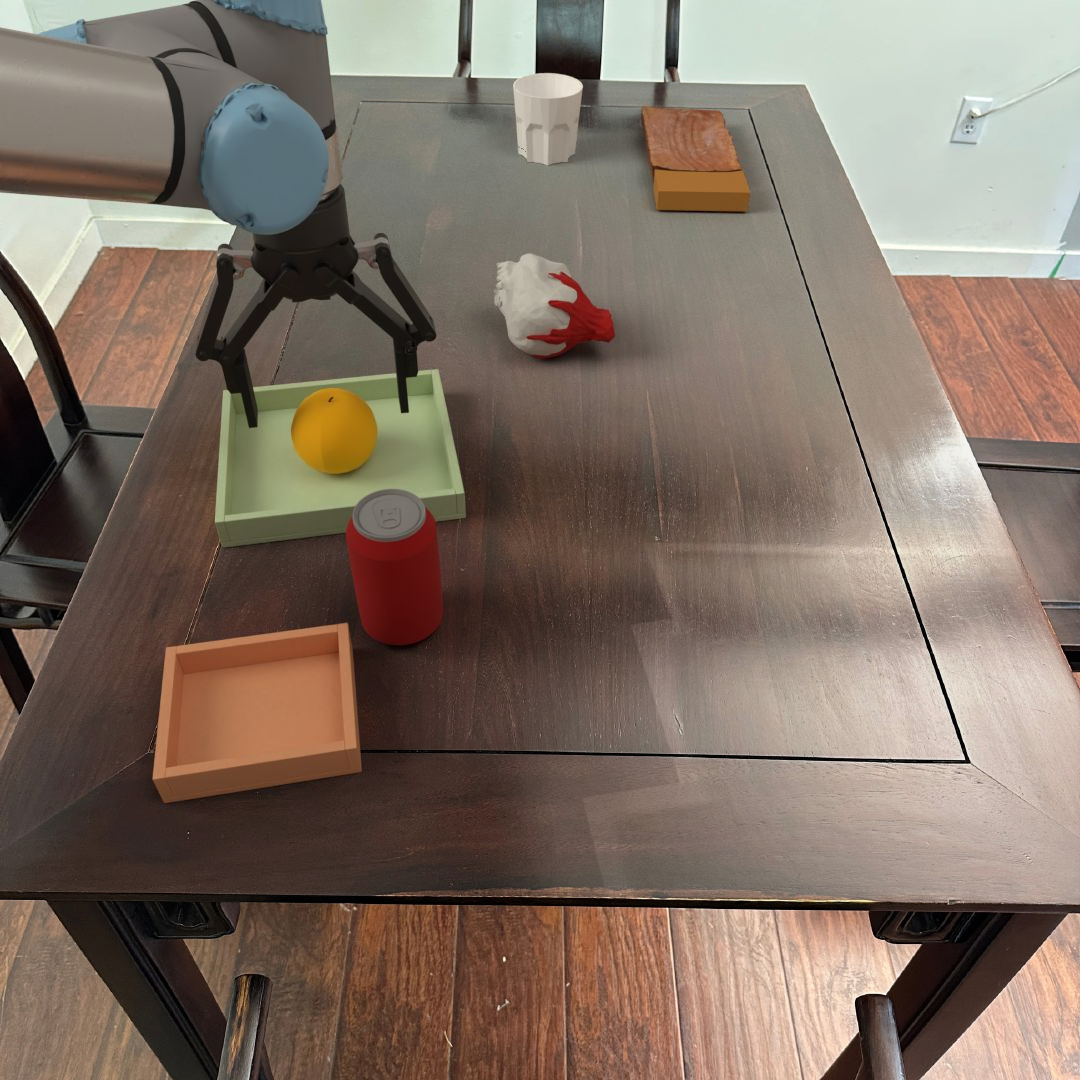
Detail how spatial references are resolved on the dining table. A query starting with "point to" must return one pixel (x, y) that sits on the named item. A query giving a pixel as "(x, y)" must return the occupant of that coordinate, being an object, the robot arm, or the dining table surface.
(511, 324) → the candle
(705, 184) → the wooden board
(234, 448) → the fruit tray
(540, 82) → the cup
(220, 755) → the drink tray
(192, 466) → the dining table surface
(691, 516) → the dining table surface
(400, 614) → the beverage can
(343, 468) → the orange
